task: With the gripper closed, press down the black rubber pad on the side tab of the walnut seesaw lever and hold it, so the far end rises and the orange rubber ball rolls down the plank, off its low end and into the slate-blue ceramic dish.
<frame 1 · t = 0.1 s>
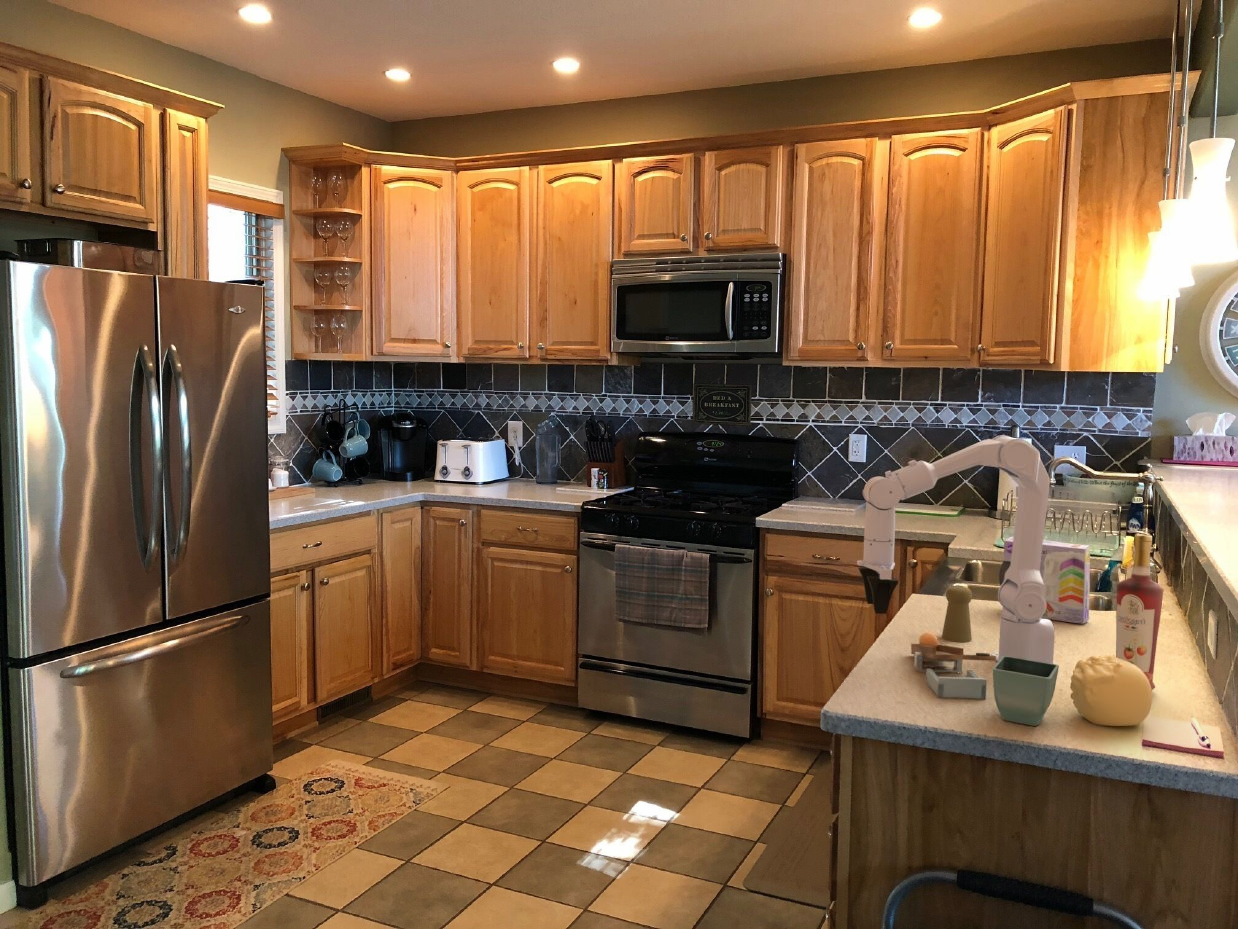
hand: (876, 608, 193), 10 cm above the worktop, tool pointing down, fingers open, 7 cm apart
sculpture: (1108, 722, 162), on the worktop
olive green pepper shaker: (956, 639, 210), on the worktop
dish: (955, 690, 176), on the worktop
fulcrum: (937, 670, 187), on the worktop
cake pan box: (1042, 617, 230), on the worktop
ball: (928, 641, 194), point 3 cm above the worktop, tilted 15°, touching lever
flower pot: (1022, 721, 161), on the worktop
lever: (951, 653, 188), point 3 cm above the worktop, hinge at -13.3°, touching ball
liquor: (1132, 692, 177), on the worktop
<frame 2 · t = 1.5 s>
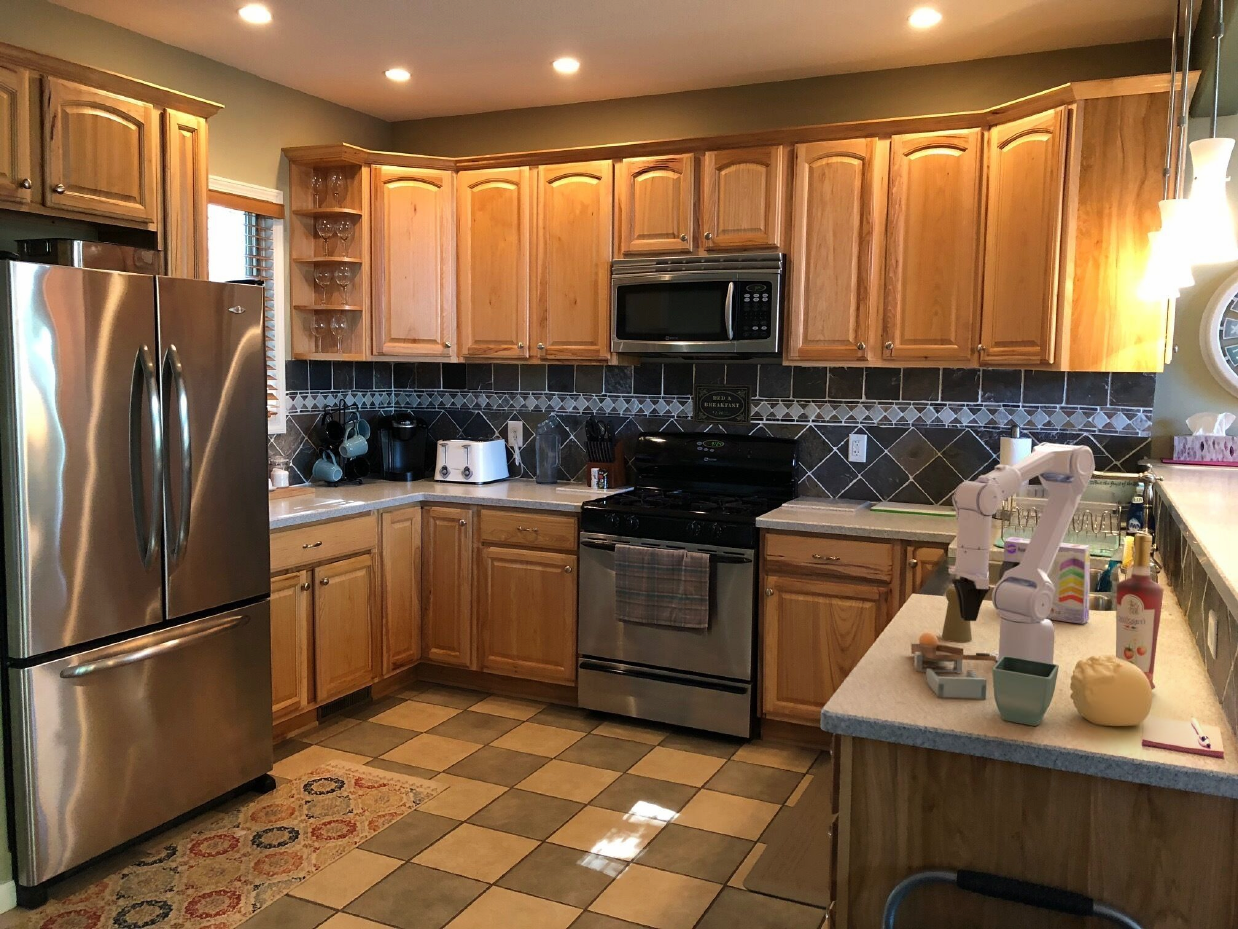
hand: (968, 619, 184), 10 cm above the worktop, tool pointing down, fingers closed
nothing on the worktop moved.
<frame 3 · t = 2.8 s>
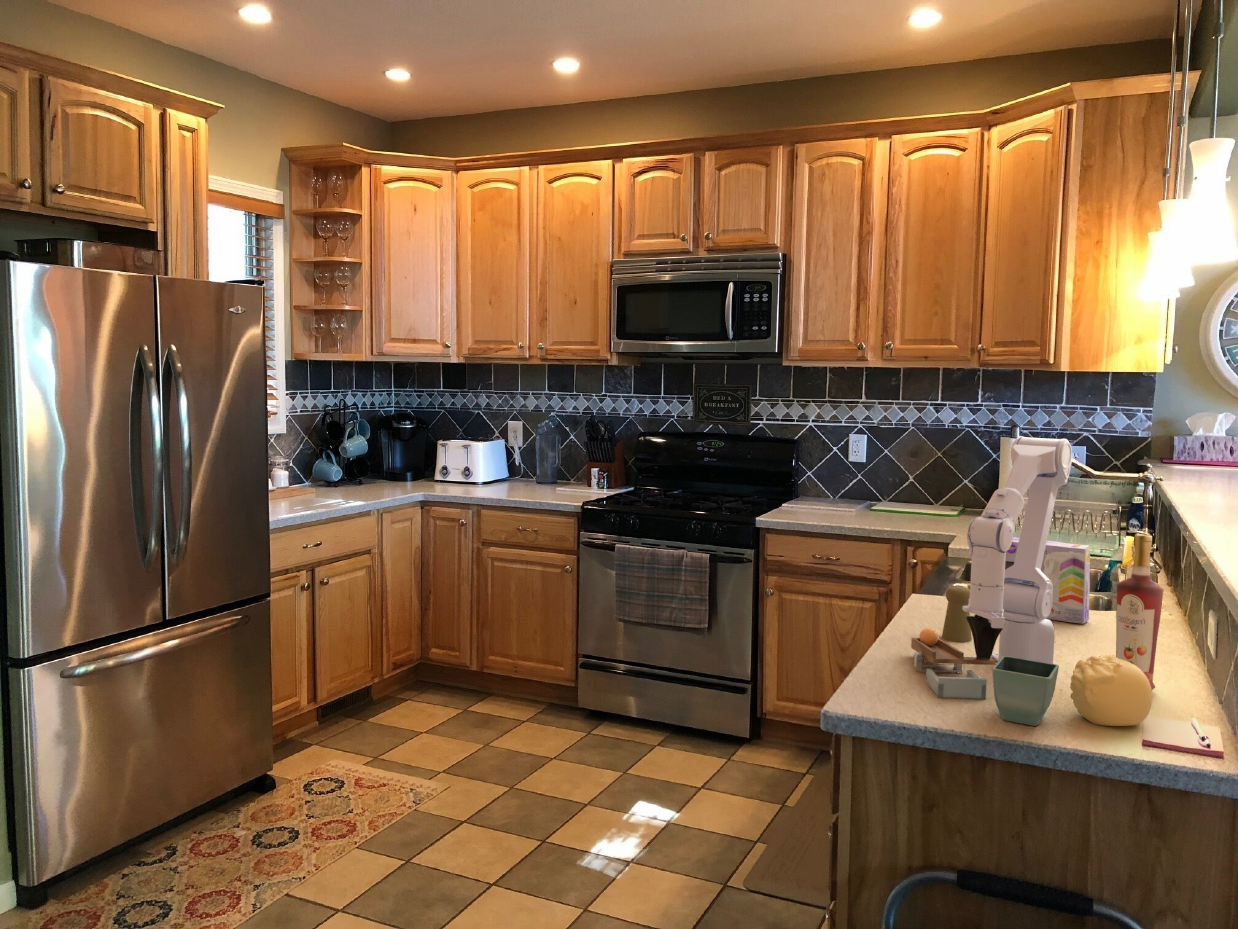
hand: (983, 657, 181), 4 cm above the worktop, tool pointing down, fingers closed, pressing on lever
ball: (928, 637, 194), point 4 cm above the worktop, tilted 8°, touching lever
lever: (951, 653, 188), point 3 cm above the worktop, hinge at -6.3°, touching ball, gripper
everything else where it was.
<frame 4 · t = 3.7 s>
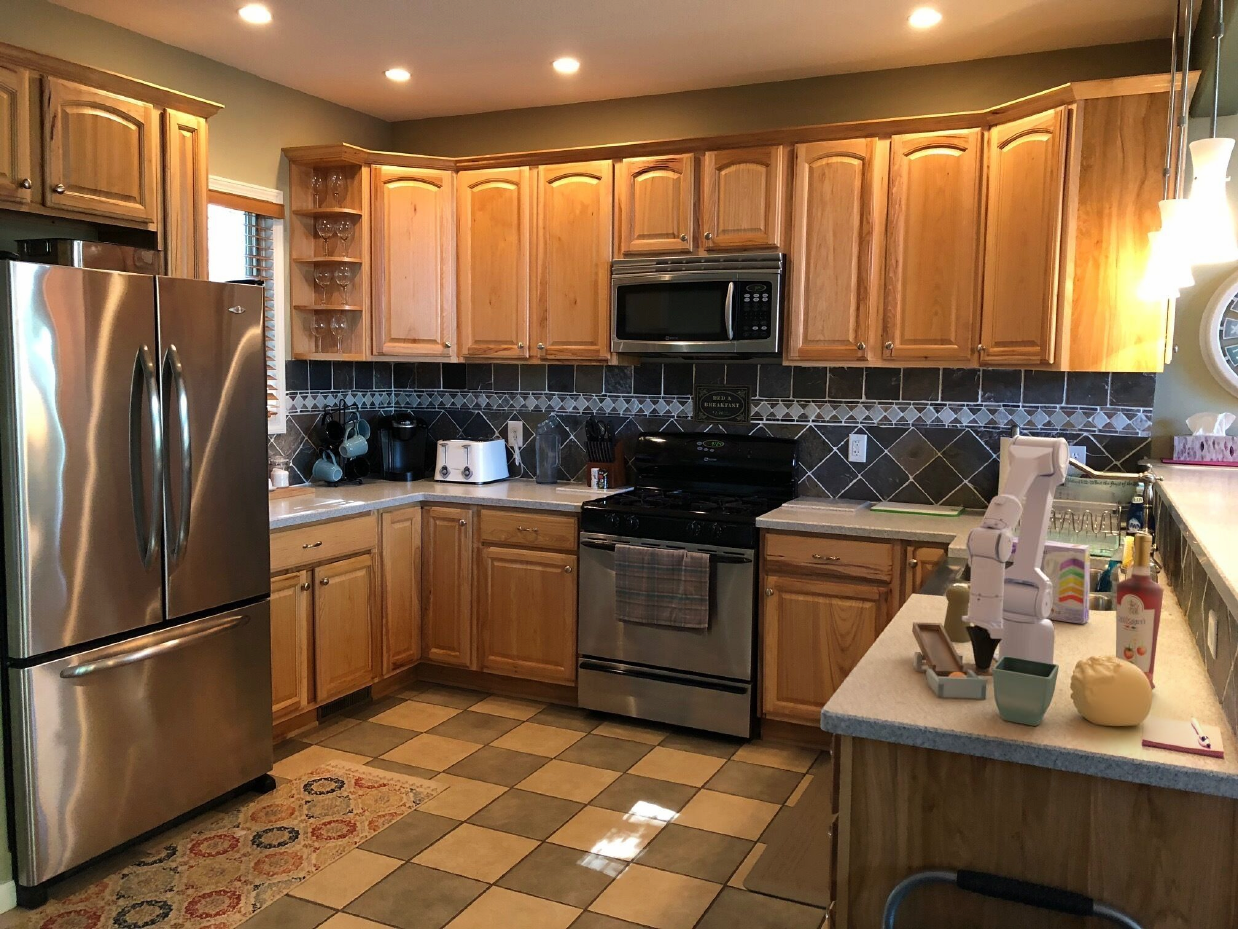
hand: (982, 667, 181), 3 cm above the worktop, tool pointing down, fingers closed
ball: (957, 682, 174), point 2 cm above the worktop, tilted 14°, touching dish
lever: (951, 650, 188), point 4 cm above the worktop, hinge at 13.2°, touching gripper
everything else where it was.
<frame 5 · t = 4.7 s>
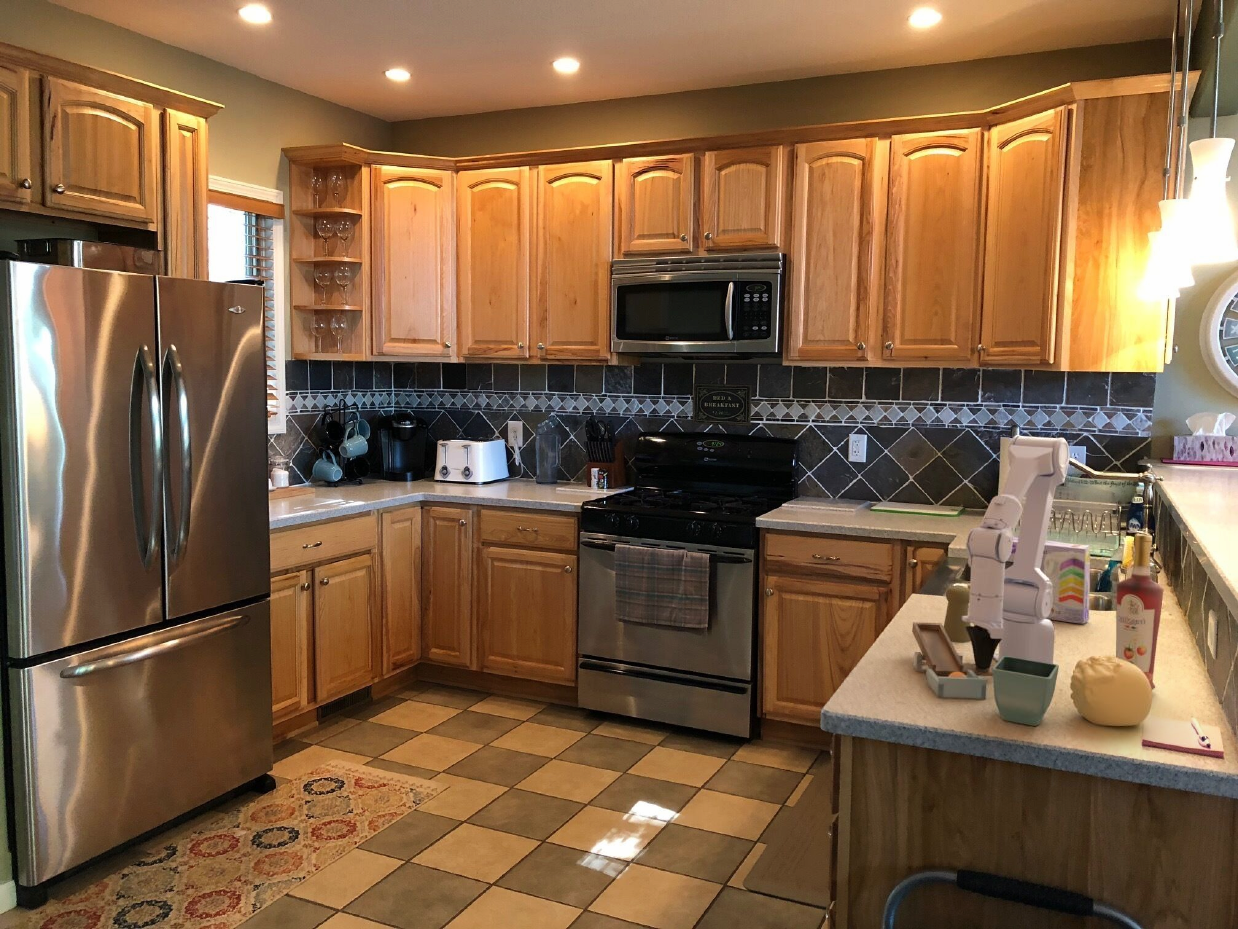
hand: (982, 667, 181), 3 cm above the worktop, tool pointing down, fingers closed
nothing on the worktop moved.
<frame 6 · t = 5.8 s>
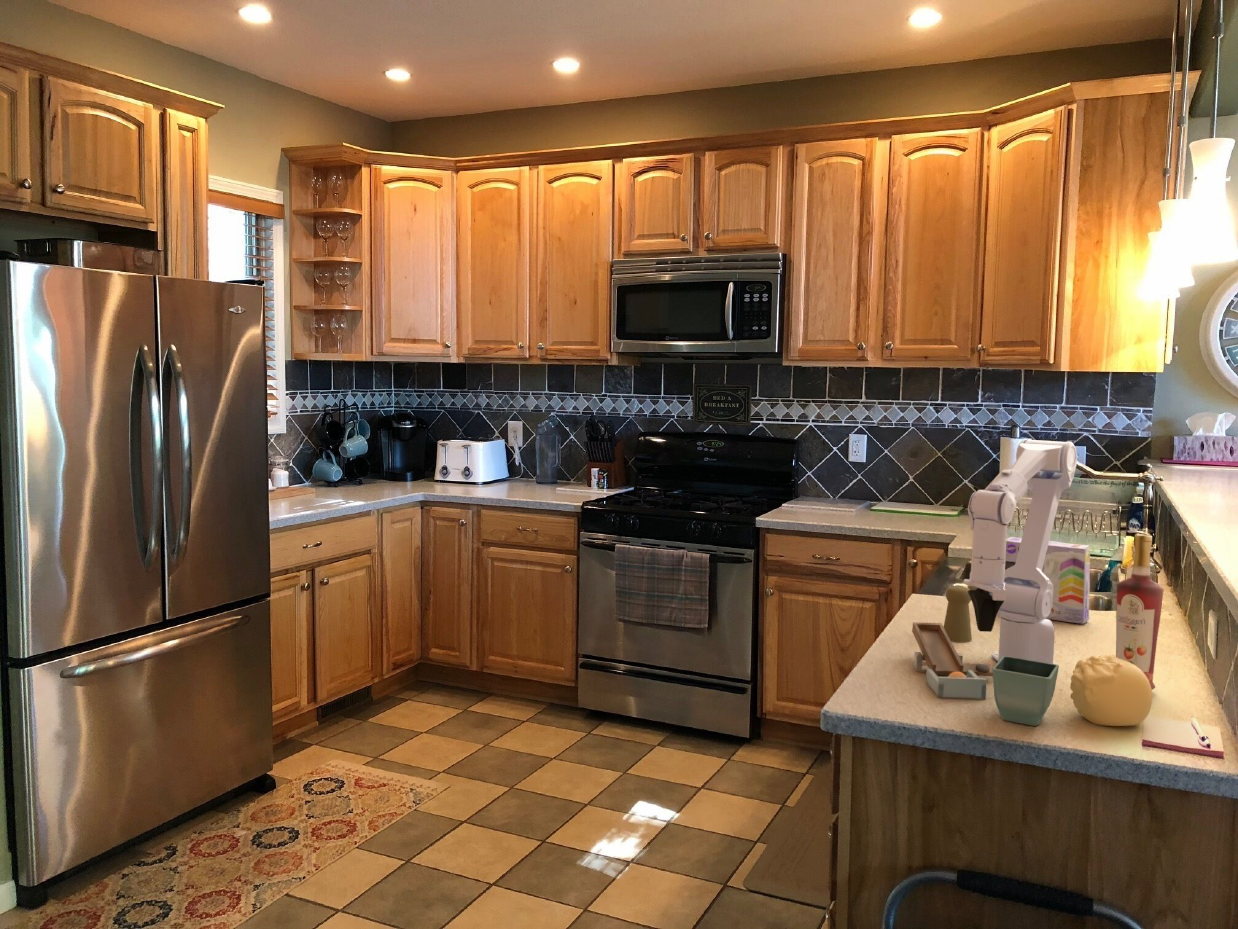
hand: (984, 630, 180), 9 cm above the worktop, tool pointing down, fingers closed
lever: (951, 650, 188), point 4 cm above the worktop, hinge at 13.2°
everything else where it was.
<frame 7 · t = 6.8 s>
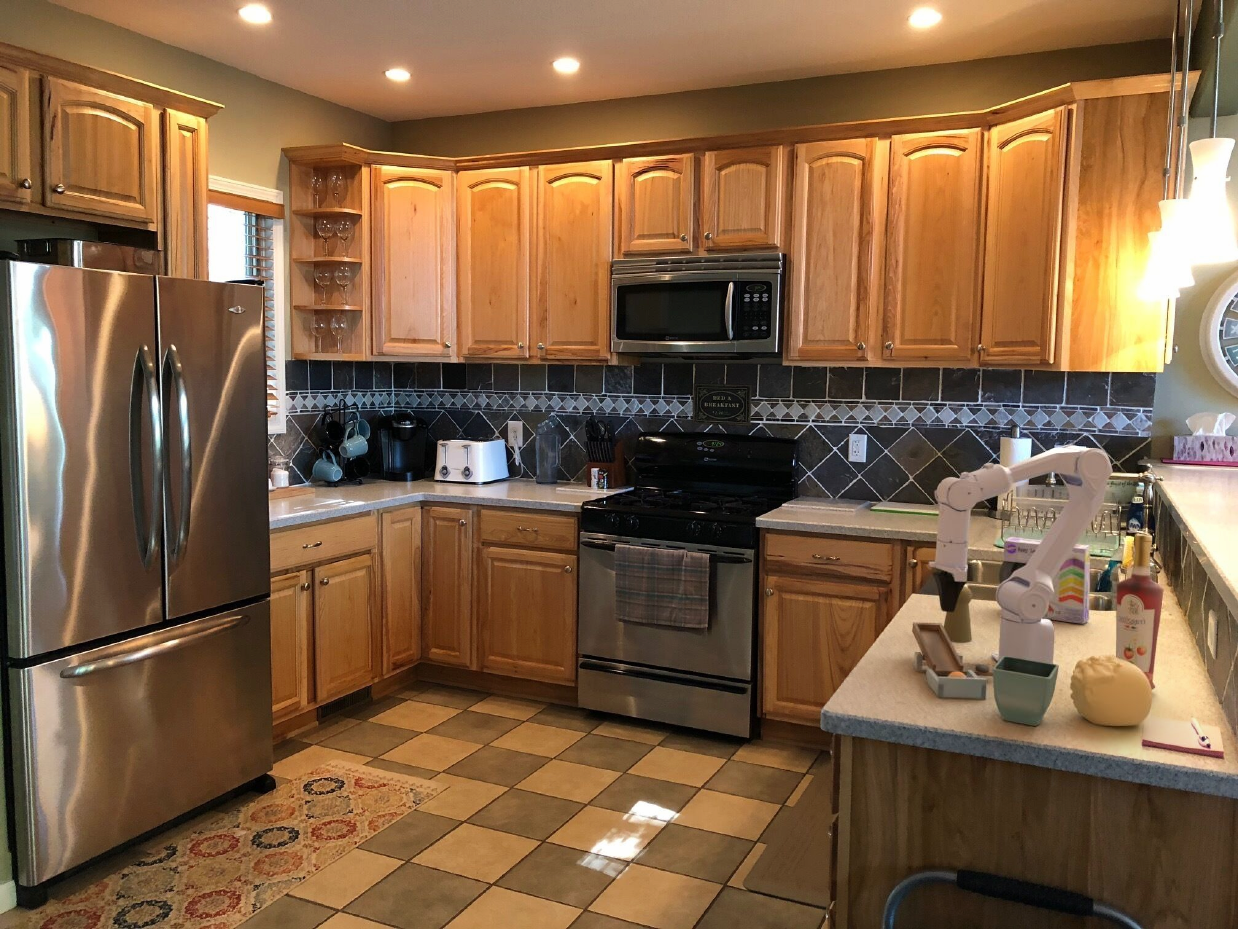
hand: (947, 611, 190), 10 cm above the worktop, tool pointing down, fingers closed
nothing on the worktop moved.
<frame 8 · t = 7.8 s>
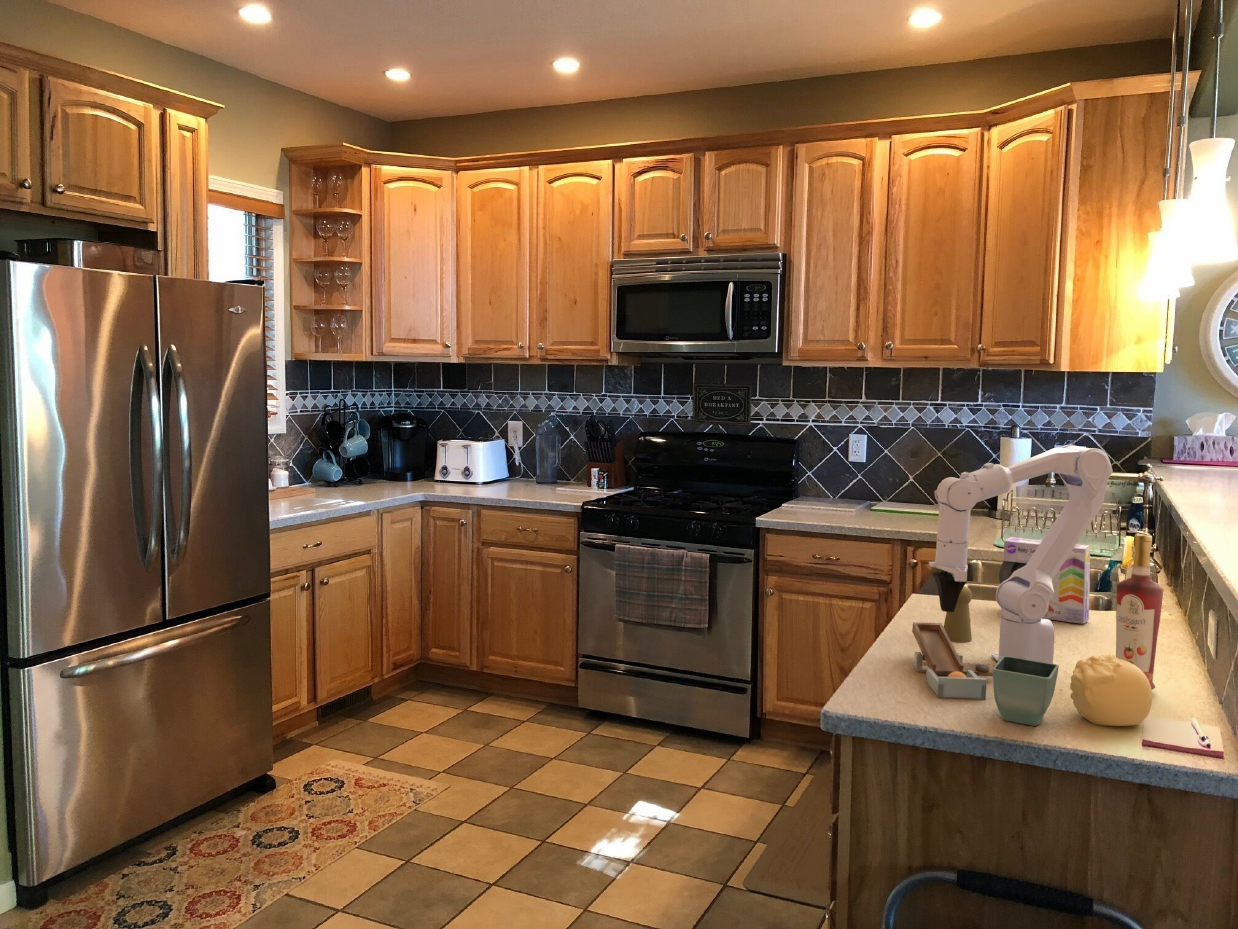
hand: (947, 611, 190), 10 cm above the worktop, tool pointing down, fingers closed
nothing on the worktop moved.
at the end: ball inside the target area on the dish (1.0 cm from its centre), point 1.9 cm above the dish's base; ball touching dish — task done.
